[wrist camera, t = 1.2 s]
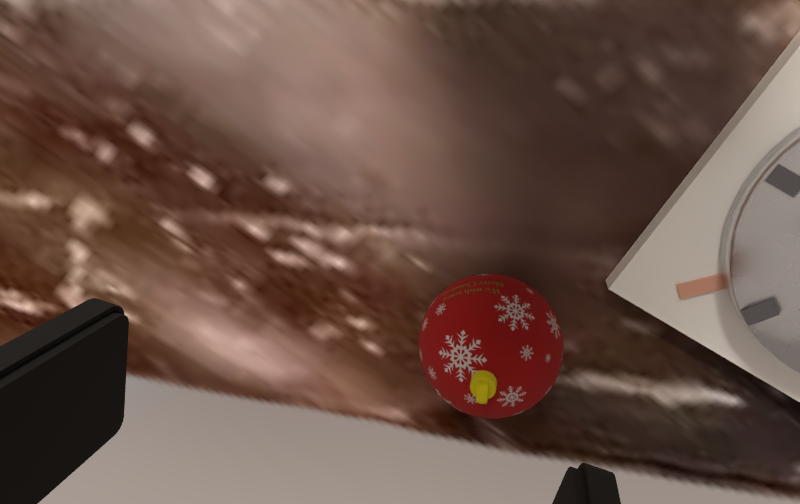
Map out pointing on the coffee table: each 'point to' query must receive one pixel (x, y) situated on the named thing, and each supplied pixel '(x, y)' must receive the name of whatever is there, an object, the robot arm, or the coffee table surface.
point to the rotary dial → (767, 251)
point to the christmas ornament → (490, 346)
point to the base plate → (714, 232)
